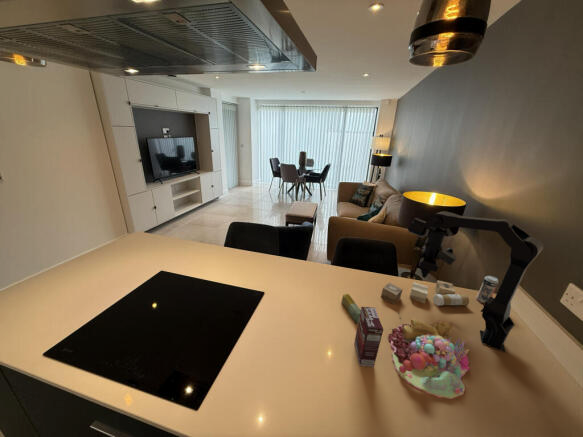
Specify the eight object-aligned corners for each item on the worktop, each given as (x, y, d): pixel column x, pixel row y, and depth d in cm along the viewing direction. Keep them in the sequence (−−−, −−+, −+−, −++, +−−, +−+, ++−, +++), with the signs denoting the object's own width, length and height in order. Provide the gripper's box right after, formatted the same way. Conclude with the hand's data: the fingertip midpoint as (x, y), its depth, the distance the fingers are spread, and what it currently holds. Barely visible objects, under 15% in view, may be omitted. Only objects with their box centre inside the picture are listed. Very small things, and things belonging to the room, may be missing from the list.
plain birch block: (424, 303, 100) (427, 294, 98) (409, 298, 102) (411, 288, 101) (425, 295, 104) (428, 286, 103) (410, 290, 107) (413, 281, 105)
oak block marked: (452, 300, 102) (455, 291, 100) (436, 296, 104) (440, 287, 102) (449, 292, 107) (452, 283, 106) (434, 289, 109) (437, 280, 108)
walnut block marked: (394, 304, 98) (396, 294, 96) (380, 297, 102) (383, 287, 100) (400, 298, 102) (402, 288, 100) (387, 291, 106) (389, 282, 104)
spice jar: (477, 301, 102) (486, 279, 98) (474, 295, 106) (484, 273, 102) (490, 305, 100) (500, 283, 96) (487, 299, 104) (497, 277, 100)
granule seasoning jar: (459, 300, 103) (431, 300, 101) (463, 291, 101) (434, 292, 100) (468, 307, 98) (438, 308, 97) (471, 299, 97) (441, 299, 96)
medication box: (361, 323, 88) (364, 314, 86) (355, 323, 87) (358, 315, 85) (346, 301, 98) (348, 293, 97) (340, 301, 97) (342, 293, 96)
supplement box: (353, 342, 79) (360, 305, 73) (367, 343, 79) (376, 307, 73) (358, 366, 71) (367, 327, 65) (374, 367, 71) (384, 328, 65)
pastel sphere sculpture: (382, 323, 88) (387, 303, 85) (448, 333, 85) (455, 314, 82) (399, 390, 65) (407, 368, 62) (491, 408, 62) (504, 386, 59)
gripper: (459, 257, 82) (446, 293, 88) (457, 239, 97) (446, 270, 103) (424, 248, 87) (414, 282, 93) (427, 232, 102) (418, 262, 108)
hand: (424, 274), depth 99 cm, fingers open, 5 cm apart
